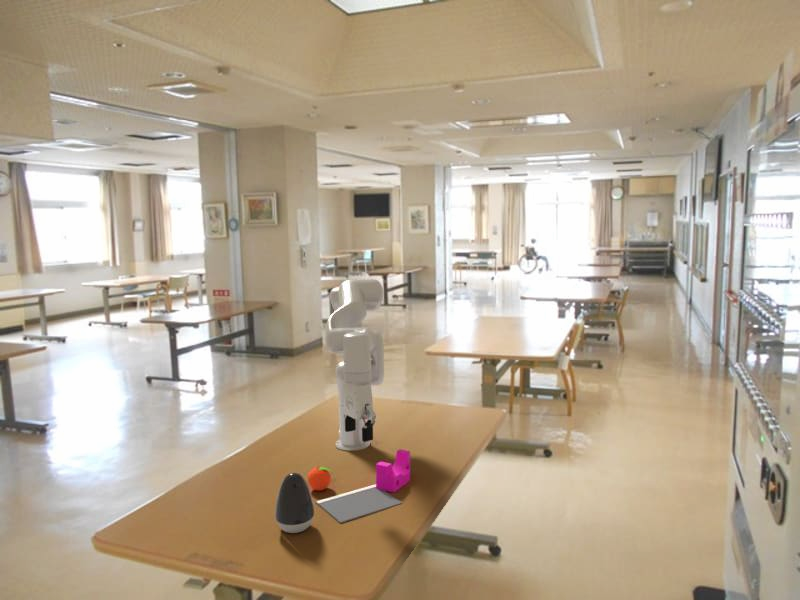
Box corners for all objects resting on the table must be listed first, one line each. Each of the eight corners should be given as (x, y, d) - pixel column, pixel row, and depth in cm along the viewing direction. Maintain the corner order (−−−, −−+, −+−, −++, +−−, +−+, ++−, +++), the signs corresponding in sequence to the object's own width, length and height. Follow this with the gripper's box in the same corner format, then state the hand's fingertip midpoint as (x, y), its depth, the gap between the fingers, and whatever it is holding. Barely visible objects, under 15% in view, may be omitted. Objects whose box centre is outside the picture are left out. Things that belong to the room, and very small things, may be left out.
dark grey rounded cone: (280, 542, 151) (278, 484, 149) (272, 523, 161) (269, 469, 159) (319, 533, 155) (317, 477, 153) (309, 516, 165) (307, 463, 163)
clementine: (336, 485, 184) (336, 463, 183) (331, 495, 177) (331, 472, 177) (311, 484, 185) (310, 462, 184) (305, 494, 178) (304, 471, 178)
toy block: (394, 492, 178) (394, 468, 177) (376, 488, 181) (376, 464, 180) (416, 475, 191) (417, 452, 190) (399, 471, 194) (399, 449, 193)
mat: (315, 502, 173) (315, 500, 172) (375, 485, 183) (375, 483, 183) (340, 523, 160) (340, 521, 160) (402, 503, 171) (402, 502, 171)
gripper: (331, 372, 172) (332, 430, 174) (361, 385, 158) (362, 447, 160) (354, 368, 176) (355, 425, 178) (385, 381, 162) (386, 441, 164)
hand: (358, 435), depth 169 cm, fingers open, 9 cm apart
